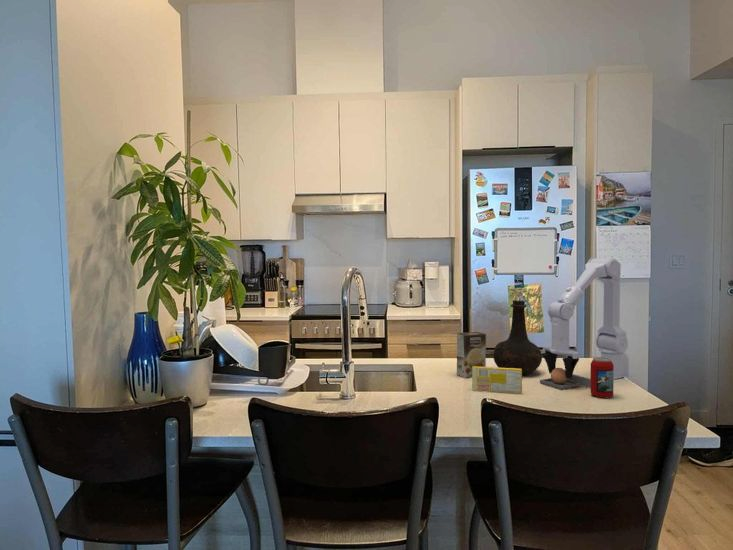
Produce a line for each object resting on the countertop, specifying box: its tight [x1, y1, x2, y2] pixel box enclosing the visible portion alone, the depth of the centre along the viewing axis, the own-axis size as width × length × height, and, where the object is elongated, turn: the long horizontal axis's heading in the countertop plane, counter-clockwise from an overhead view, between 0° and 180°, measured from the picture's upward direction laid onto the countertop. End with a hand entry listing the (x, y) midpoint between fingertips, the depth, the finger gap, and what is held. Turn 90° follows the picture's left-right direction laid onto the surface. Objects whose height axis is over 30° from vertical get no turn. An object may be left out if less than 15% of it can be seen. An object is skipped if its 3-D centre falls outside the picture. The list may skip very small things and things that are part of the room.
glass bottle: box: [492, 299, 543, 376], centre depth 199 cm, size 18×18×28 cm
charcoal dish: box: [539, 377, 582, 391], centre depth 181 cm, size 9×10×1 cm
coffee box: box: [456, 331, 487, 379], centre depth 196 cm, size 9×6×16 cm
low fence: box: [567, 373, 590, 389], centre depth 184 cm, size 1×16×3 cm, turn 26°
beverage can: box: [589, 356, 615, 399], centre depth 167 cm, size 7×7×12 cm
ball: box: [550, 367, 567, 384], centre depth 181 cm, size 6×6×6 cm
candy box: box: [471, 366, 523, 395], centre depth 174 cm, size 16×2×8 cm, turn 71°
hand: (560, 375), depth 181 cm, fingers open, 7 cm apart
